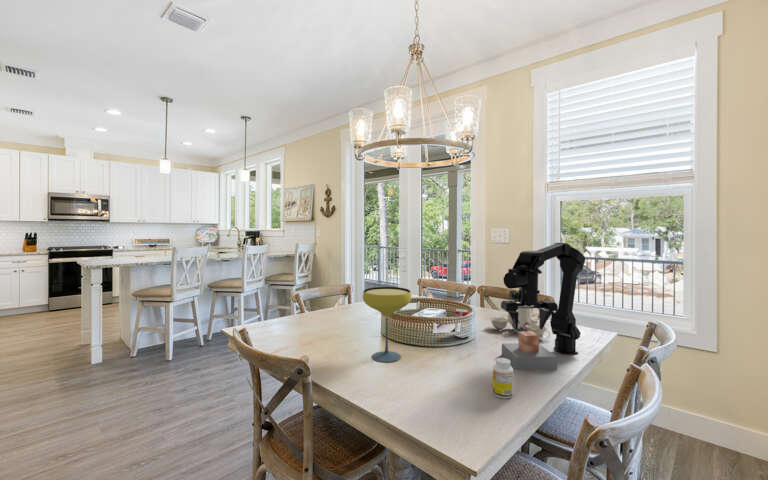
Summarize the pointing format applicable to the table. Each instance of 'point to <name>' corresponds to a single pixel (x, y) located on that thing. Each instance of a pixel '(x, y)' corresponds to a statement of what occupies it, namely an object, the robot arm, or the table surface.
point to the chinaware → (520, 322)
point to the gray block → (529, 358)
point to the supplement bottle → (503, 378)
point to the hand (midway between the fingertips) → (528, 329)
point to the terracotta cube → (528, 341)
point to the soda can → (460, 312)
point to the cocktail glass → (386, 311)
